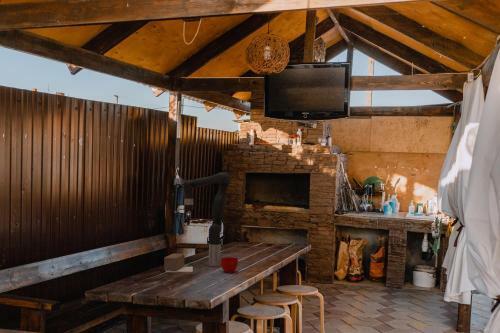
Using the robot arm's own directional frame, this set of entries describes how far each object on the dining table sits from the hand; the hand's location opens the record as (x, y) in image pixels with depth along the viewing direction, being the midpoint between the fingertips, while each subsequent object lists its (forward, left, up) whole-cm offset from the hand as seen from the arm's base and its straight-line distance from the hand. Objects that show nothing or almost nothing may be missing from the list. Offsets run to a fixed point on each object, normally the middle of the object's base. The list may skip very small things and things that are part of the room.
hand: (188, 224), depth 423 cm
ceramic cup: (-33, +42, -31) cm, 62 cm away
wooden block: (+7, +20, -26) cm, 33 cm away
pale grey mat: (+5, +32, -31) cm, 44 cm away
